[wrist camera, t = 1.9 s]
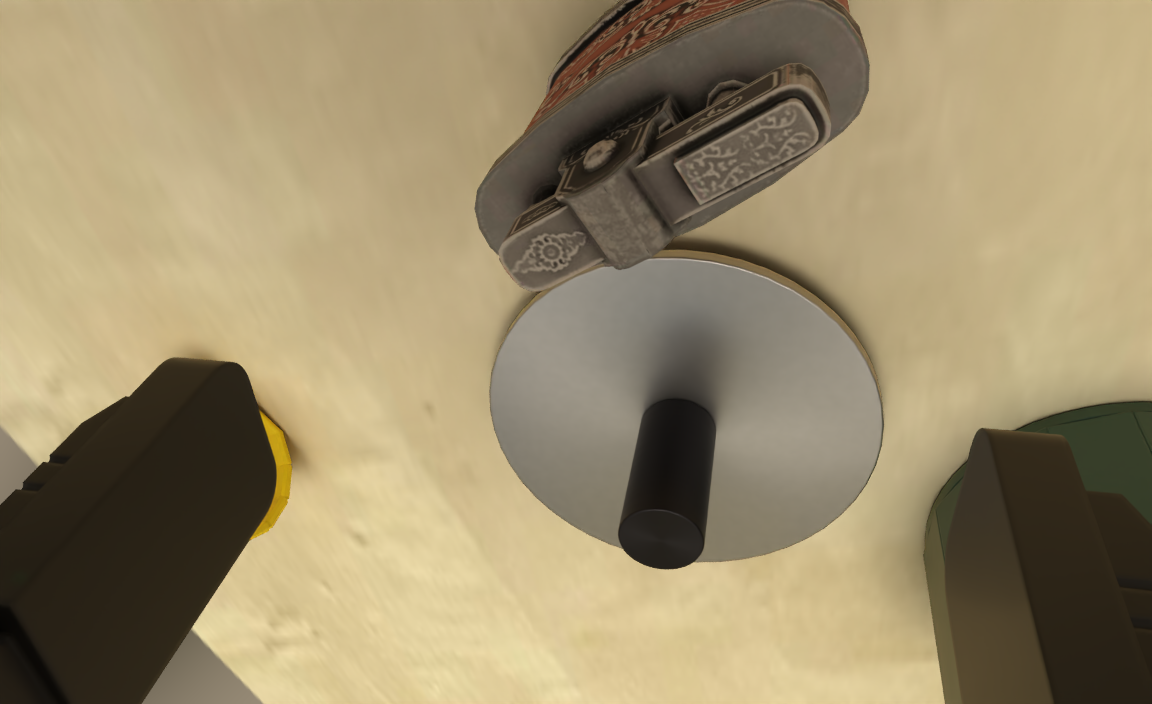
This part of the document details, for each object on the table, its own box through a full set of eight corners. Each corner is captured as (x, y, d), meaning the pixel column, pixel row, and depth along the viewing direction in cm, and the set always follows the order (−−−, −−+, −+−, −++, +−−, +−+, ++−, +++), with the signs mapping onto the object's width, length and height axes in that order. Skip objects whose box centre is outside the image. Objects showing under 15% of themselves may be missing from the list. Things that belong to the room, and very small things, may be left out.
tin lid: (514, 520, 35) (469, 651, 30) (478, 228, 27) (413, 339, 23) (853, 558, 32) (863, 705, 28) (912, 250, 25) (938, 379, 20)
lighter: (597, 163, 25) (507, 379, 17) (526, 59, 24) (394, 242, 16) (875, 4, 22) (920, 188, 14) (808, -129, 20) (817, -11, 12)
